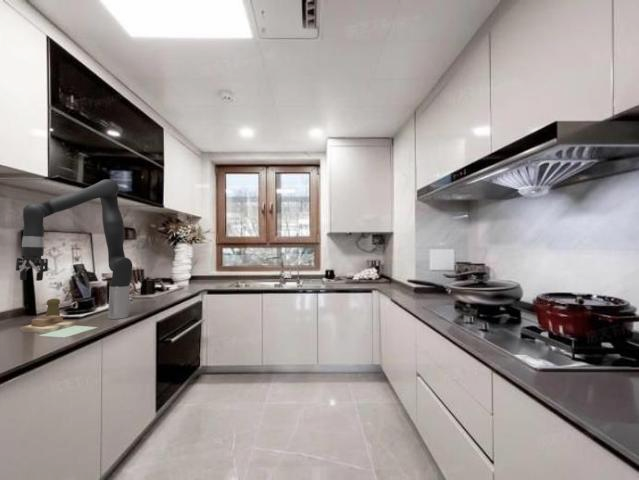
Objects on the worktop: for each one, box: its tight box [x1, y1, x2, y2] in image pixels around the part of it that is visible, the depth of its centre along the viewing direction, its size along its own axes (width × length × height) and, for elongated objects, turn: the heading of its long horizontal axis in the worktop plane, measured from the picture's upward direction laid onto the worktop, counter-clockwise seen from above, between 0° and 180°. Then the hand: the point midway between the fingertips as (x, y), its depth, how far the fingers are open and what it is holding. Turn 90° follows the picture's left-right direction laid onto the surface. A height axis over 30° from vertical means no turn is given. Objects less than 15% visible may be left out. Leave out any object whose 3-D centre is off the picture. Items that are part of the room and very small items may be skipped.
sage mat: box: [38, 325, 99, 339], centre depth 131 cm, size 16×12×1 cm
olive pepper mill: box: [45, 298, 61, 317], centre depth 150 cm, size 6×6×11 cm
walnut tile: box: [30, 315, 64, 327], centre depth 136 cm, size 9×6×3 cm, turn 173°
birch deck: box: [20, 320, 77, 334], centre depth 136 cm, size 13×14×2 cm
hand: (31, 280), depth 137 cm, fingers open, 8 cm apart
